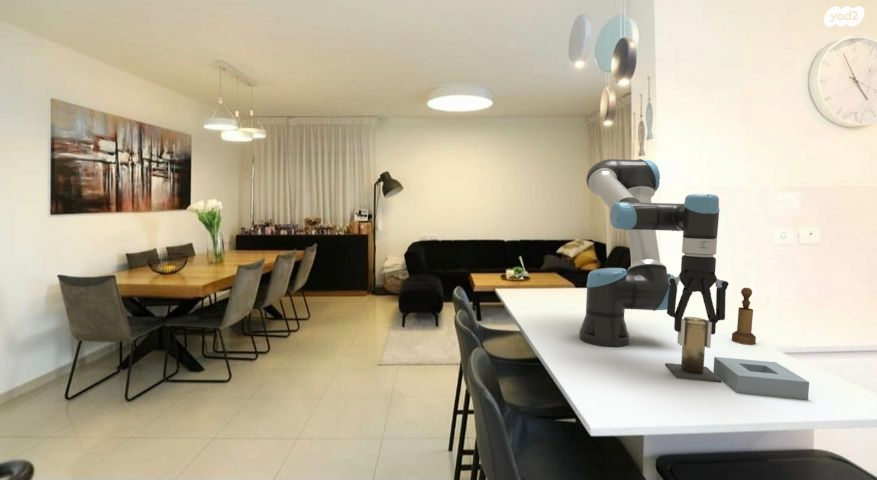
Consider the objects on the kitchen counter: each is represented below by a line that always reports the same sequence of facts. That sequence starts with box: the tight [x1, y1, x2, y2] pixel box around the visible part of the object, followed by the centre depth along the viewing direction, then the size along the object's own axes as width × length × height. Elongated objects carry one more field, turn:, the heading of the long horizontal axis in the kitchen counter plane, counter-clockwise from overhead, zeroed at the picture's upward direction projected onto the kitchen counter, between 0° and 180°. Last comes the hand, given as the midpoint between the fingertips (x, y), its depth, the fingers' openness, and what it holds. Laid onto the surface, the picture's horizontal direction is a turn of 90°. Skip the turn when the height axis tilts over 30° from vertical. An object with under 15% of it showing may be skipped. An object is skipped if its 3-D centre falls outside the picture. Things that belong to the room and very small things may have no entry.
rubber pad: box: [664, 362, 723, 383], centre depth 112 cm, size 10×10×1 cm
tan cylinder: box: [680, 316, 708, 372], centre depth 112 cm, size 5×5×13 cm
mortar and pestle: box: [731, 287, 757, 346], centre depth 144 cm, size 7×6×18 cm
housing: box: [712, 356, 810, 400], centre depth 105 cm, size 14×14×4 cm
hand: (693, 345), depth 112 cm, fingers open, 5 cm apart
